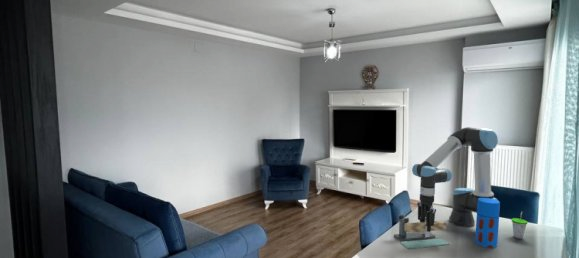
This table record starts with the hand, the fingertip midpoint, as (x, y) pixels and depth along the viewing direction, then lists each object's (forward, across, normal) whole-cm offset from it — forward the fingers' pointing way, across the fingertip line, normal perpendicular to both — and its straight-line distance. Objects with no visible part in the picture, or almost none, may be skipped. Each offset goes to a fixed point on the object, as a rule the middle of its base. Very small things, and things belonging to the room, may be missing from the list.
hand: (424, 235), depth 179 cm
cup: (+5, +3, +61) cm, 61 cm away
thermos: (+5, +6, +35) cm, 36 cm away
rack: (+5, -10, 0) cm, 11 cm away
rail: (-3, 0, 0) cm, 3 cm away
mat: (+5, 0, 0) cm, 5 cm away
